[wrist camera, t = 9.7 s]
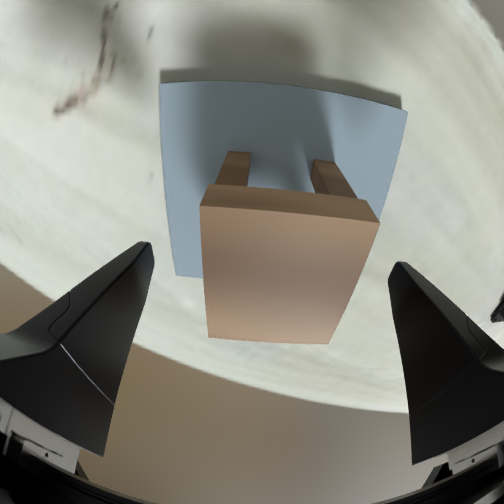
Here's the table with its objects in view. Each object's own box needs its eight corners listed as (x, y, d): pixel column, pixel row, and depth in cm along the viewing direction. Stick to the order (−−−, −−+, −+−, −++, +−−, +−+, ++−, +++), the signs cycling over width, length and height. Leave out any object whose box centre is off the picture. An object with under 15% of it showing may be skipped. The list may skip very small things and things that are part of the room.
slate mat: (402, 109, 10) (407, 111, 10) (350, 281, 17) (352, 288, 16) (164, 83, 10) (159, 84, 10) (178, 269, 17) (176, 275, 16)
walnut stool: (313, 260, 15) (328, 344, 11) (224, 253, 15) (208, 337, 11) (337, 158, 11) (380, 223, 7) (225, 146, 11) (199, 206, 7)
